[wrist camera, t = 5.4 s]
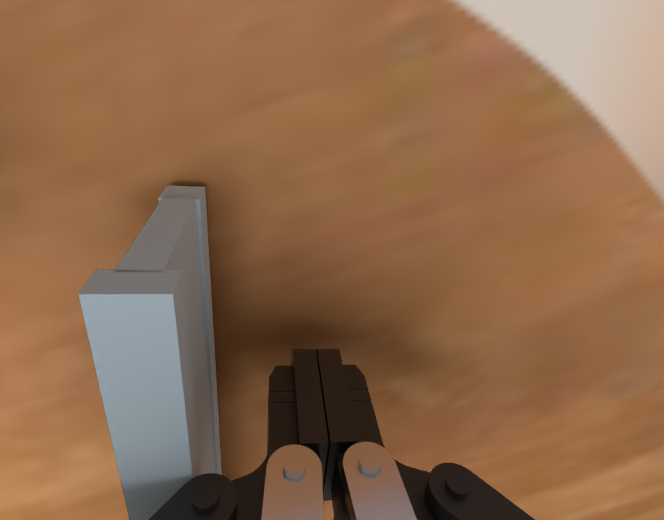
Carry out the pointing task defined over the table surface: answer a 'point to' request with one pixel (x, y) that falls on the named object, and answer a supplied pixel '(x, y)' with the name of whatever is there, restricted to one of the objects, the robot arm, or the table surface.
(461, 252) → the table surface
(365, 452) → the robot arm
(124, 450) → the gate
